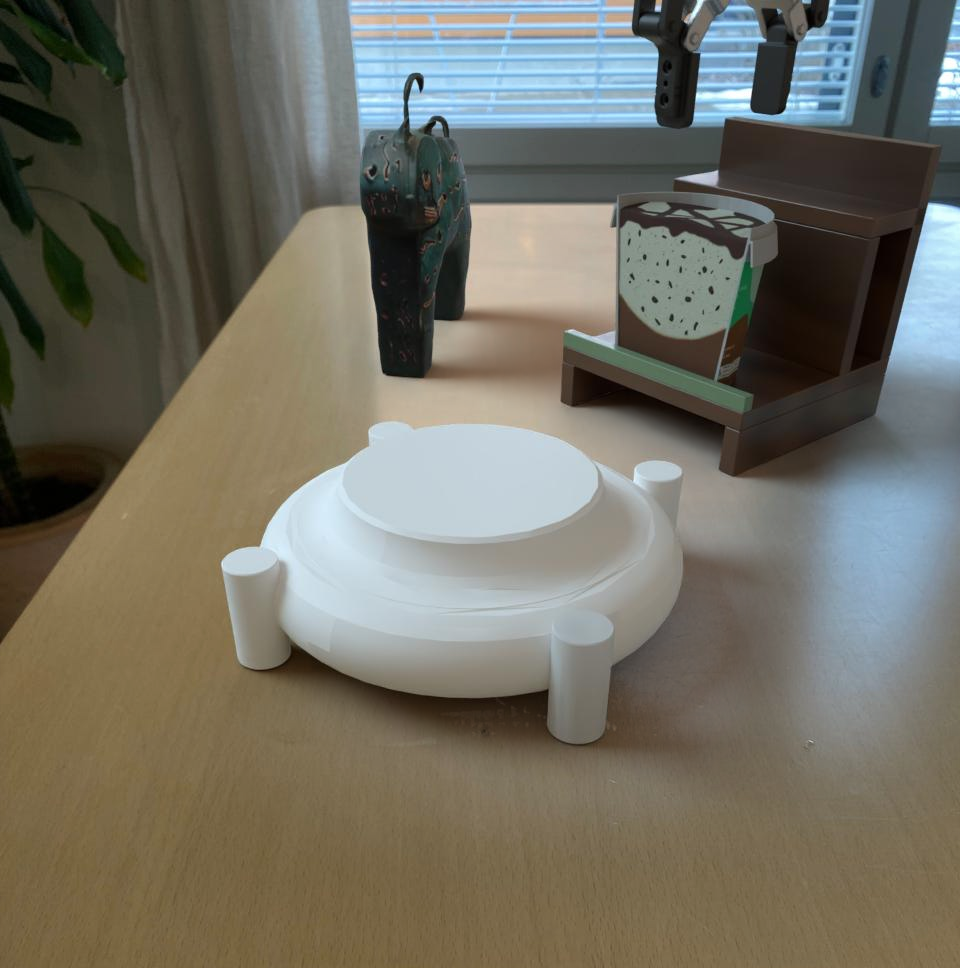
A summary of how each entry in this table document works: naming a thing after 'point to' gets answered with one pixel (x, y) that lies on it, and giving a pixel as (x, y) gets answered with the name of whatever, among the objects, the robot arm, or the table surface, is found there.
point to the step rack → (794, 289)
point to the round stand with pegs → (466, 569)
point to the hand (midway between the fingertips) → (722, 120)
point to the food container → (689, 277)
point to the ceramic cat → (414, 236)
